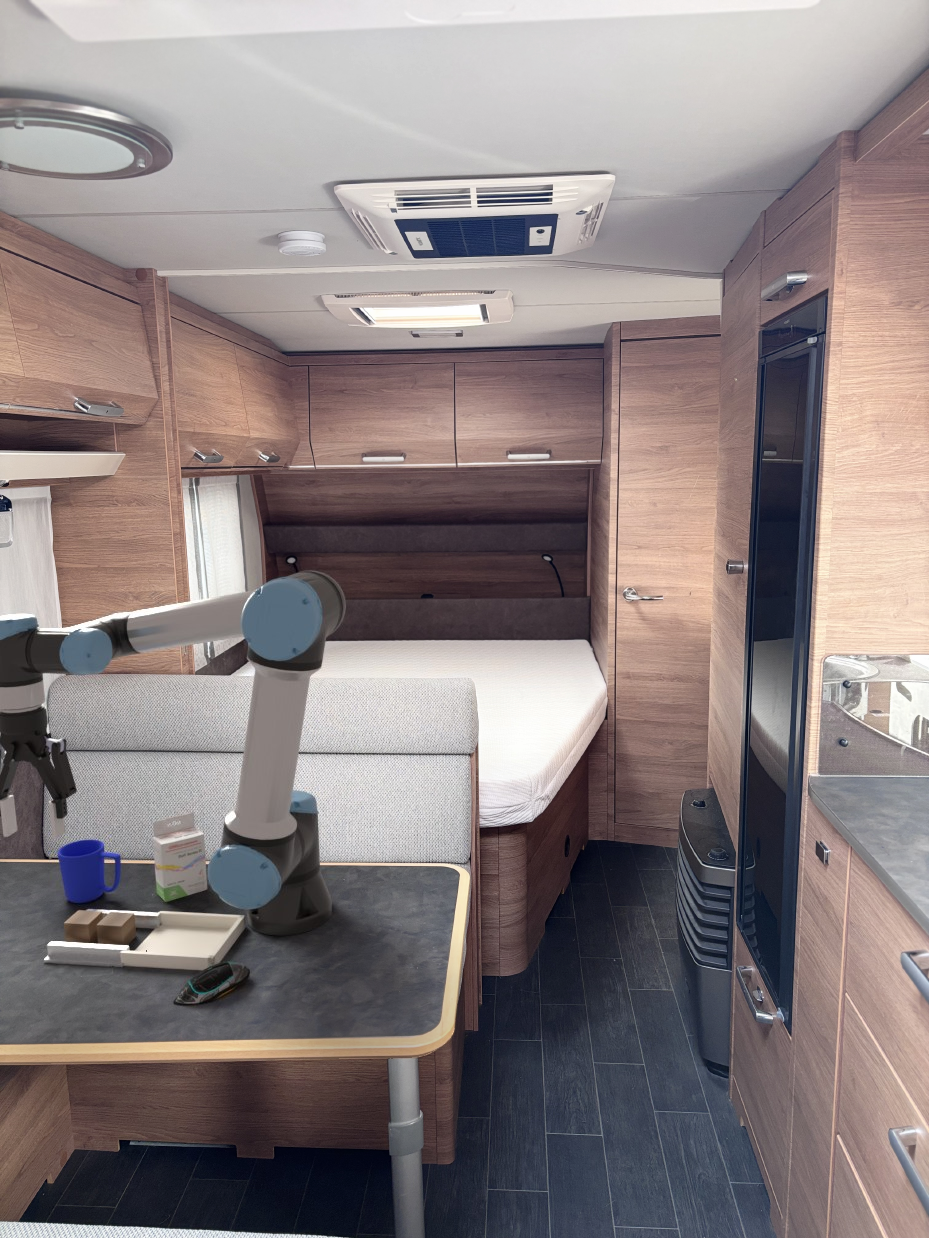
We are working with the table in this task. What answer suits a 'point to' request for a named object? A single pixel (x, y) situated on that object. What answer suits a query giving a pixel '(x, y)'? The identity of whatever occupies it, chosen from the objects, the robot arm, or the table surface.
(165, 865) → the ink box
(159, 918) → the slot rails
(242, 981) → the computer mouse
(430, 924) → the table surface
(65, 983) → the table surface
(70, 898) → the mug
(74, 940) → the brown shipping carton
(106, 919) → the tan cardboard cube
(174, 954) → the tray
